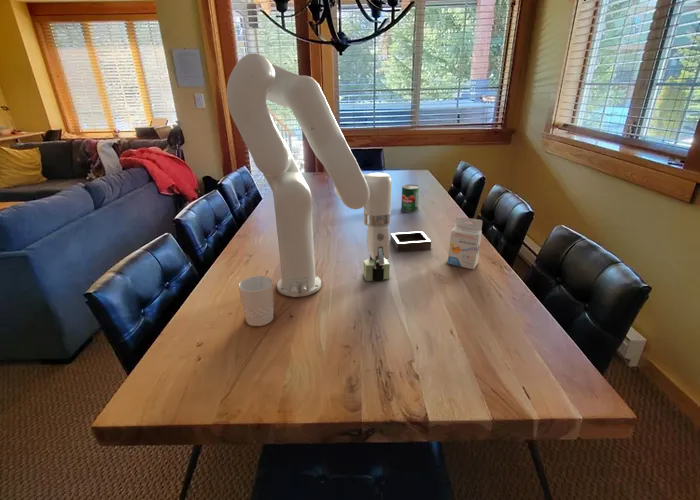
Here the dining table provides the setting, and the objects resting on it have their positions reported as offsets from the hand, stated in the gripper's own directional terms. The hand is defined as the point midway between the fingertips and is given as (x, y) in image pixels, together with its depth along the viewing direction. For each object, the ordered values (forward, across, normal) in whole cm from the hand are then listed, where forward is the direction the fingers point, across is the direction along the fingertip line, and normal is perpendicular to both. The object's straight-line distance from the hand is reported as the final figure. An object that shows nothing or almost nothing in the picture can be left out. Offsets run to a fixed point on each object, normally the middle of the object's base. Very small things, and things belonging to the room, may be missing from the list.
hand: (376, 275), depth 112 cm
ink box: (+1, +4, -29) cm, 29 cm away
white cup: (+1, -17, +33) cm, 37 cm away
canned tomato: (+1, +63, -29) cm, 69 cm away
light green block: (+1, 0, 0) cm, 1 cm away
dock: (+1, +22, -17) cm, 28 cm away
